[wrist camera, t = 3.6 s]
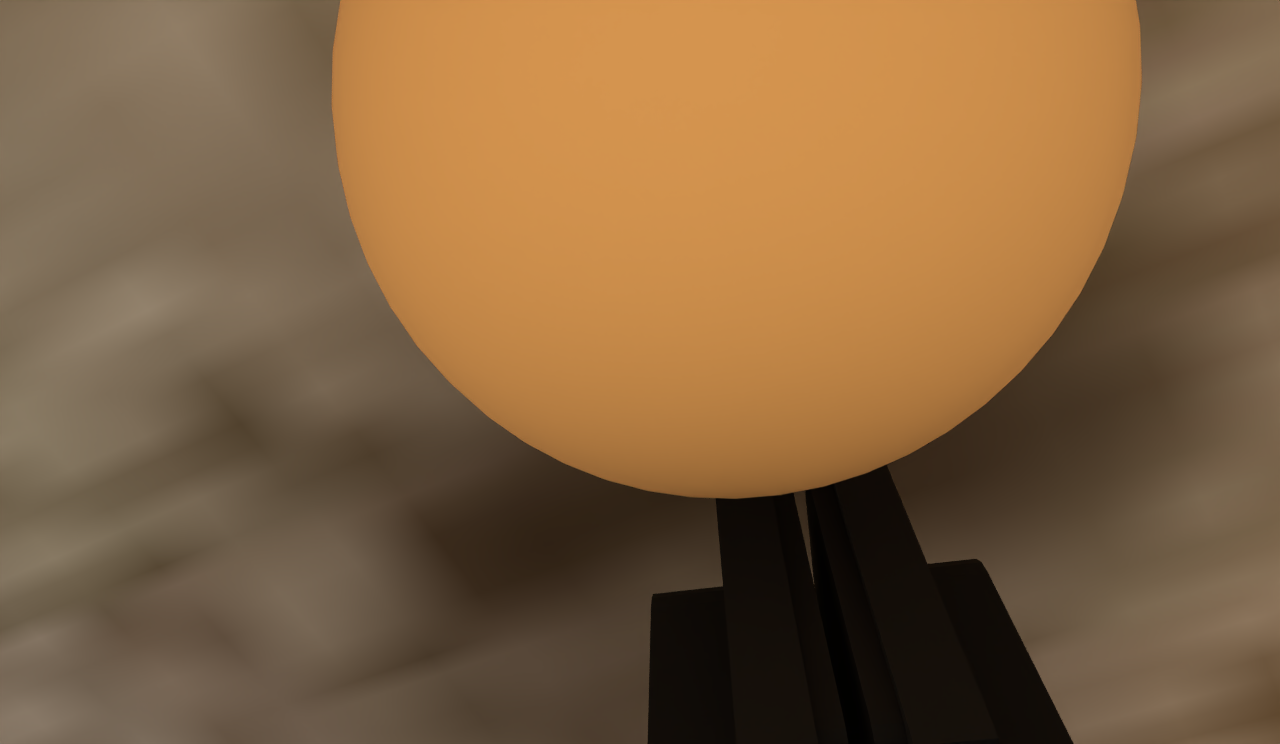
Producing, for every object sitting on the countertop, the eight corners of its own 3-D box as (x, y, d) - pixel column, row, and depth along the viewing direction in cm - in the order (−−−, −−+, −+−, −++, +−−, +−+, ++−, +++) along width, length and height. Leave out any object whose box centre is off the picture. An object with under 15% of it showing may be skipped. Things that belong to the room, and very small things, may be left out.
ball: (994, 289, 11) (1297, 611, 6) (502, 365, 11) (367, 722, 6) (978, -309, 8) (1463, -694, 3) (363, -181, 9) (-37, -340, 4)
